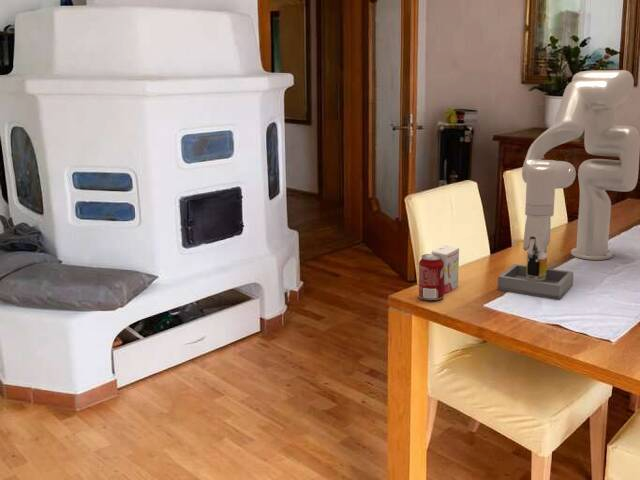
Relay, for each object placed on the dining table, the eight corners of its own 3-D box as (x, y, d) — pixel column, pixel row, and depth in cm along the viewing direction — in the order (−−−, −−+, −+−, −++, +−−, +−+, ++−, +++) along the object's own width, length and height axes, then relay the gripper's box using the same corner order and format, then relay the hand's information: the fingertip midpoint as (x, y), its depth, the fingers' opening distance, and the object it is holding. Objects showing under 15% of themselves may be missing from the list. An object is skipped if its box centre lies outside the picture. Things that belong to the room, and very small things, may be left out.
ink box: (445, 294, 185) (446, 254, 182) (429, 291, 188) (430, 251, 185) (459, 286, 191) (460, 246, 188) (443, 283, 194) (444, 244, 191)
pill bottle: (546, 276, 189) (547, 243, 186) (545, 281, 184) (547, 248, 181) (526, 274, 190) (527, 242, 188) (525, 280, 186) (527, 247, 183)
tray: (513, 276, 198) (514, 263, 197) (572, 285, 188) (573, 272, 187) (497, 290, 187) (498, 276, 186) (559, 300, 177) (560, 285, 176)
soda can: (438, 303, 178) (438, 261, 175) (415, 299, 181) (415, 258, 178) (447, 296, 183) (448, 254, 180) (424, 292, 187) (425, 251, 184)
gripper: (535, 202, 191) (532, 262, 195) (515, 214, 177) (513, 278, 182) (561, 204, 187) (558, 265, 191) (544, 217, 173) (540, 282, 178)
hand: (536, 271), depth 187 cm, fingers closed on pill bottle, 5 cm apart
